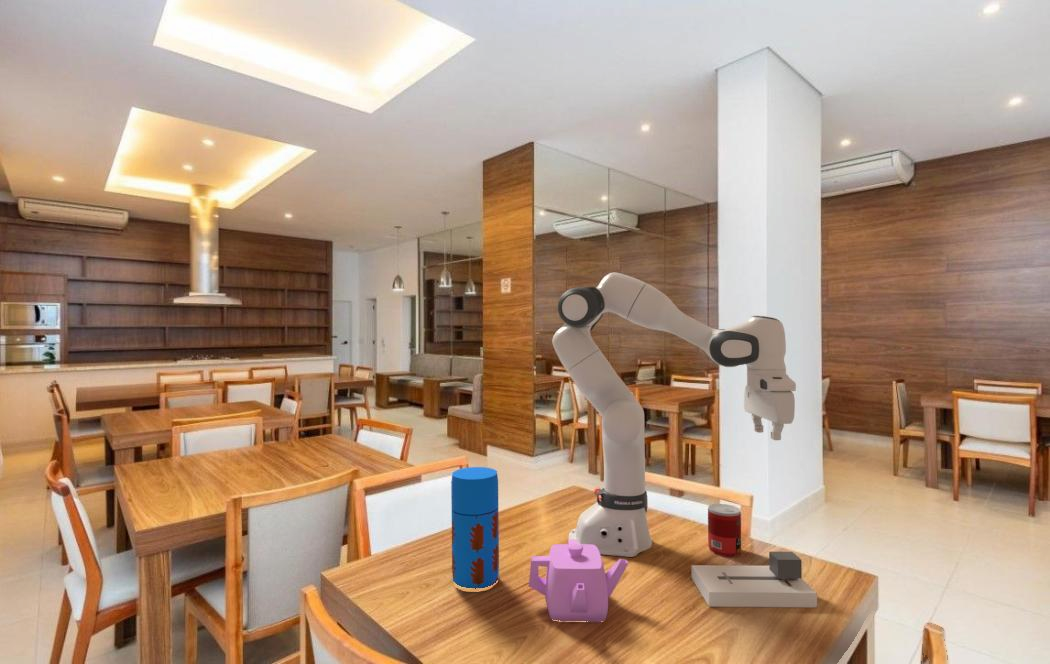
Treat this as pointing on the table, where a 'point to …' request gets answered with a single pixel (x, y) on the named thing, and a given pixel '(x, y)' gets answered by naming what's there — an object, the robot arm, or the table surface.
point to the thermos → (475, 527)
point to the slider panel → (750, 587)
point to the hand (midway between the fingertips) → (767, 435)
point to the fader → (785, 565)
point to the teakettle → (575, 581)
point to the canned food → (724, 529)
